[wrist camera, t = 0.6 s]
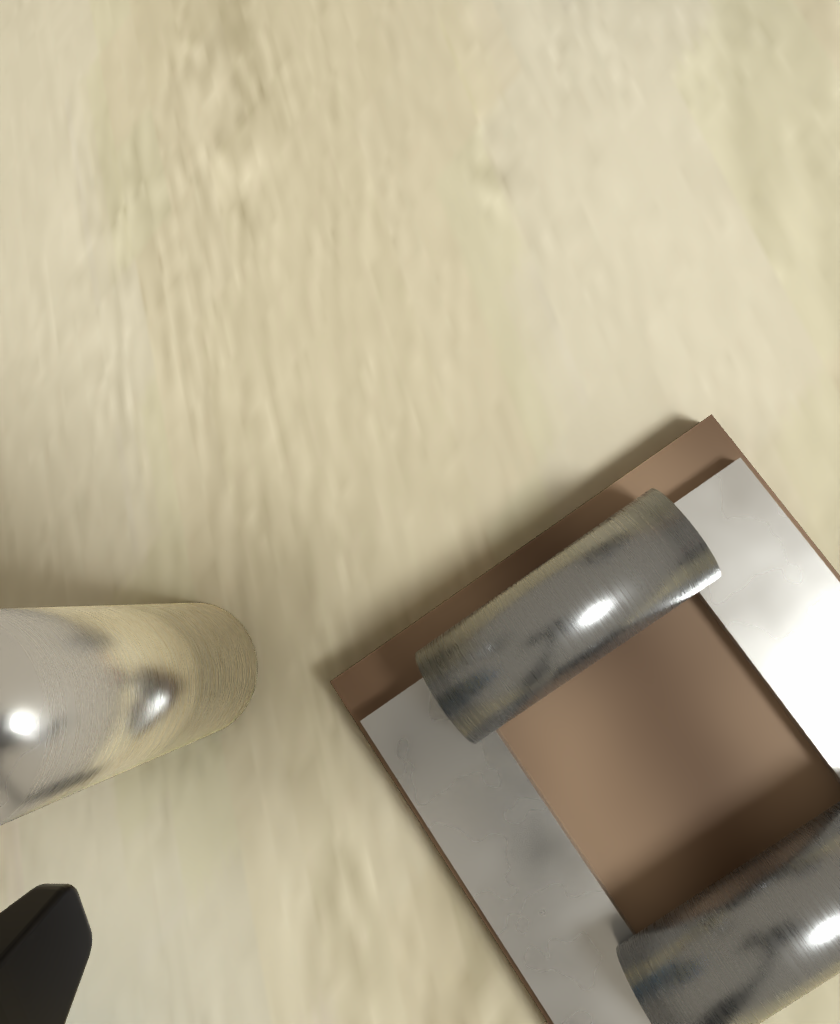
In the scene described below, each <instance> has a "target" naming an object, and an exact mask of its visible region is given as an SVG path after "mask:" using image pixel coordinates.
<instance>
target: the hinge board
mask: <svg viewBox="0 0 840 1024" xmlns="http://www.w3.org/2000/svg"><path fill="white" fill-rule="evenodd" d="M739 458H741V459H742V460H743V461H744V463H745V464H746V465H747V466H748V468H749V469H750V470H751V471H752V473H753V474H754V475H755V476H756V478H757V479H758V480H759V481H760V483H761V484H762V485H763V486H764V488H765V489H766V490H767V492H768V493H769V494H770V495H771V497H772V498H773V499H774V500H775V502H776V503H777V504H778V505H779V507H780V508H781V509H782V510H783V512H784V513H785V514H786V515H787V517H788V518H789V519H790V520H791V522H792V523H793V524H794V526H795V527H796V528H797V529H798V531H799V532H800V533H801V534H802V536H803V537H804V538H805V539H806V541H807V542H808V543H809V544H810V546H811V547H812V548H813V549H814V551H815V552H816V553H817V554H818V556H819V557H820V558H821V560H822V561H823V562H824V563H825V565H826V566H827V567H828V568H829V570H830V571H831V572H832V573H833V575H834V576H835V577H836V578H837V580H838V581H839V582H840V575H839V574H838V573H837V571H836V570H835V569H834V568H833V566H832V565H831V564H830V563H829V561H828V560H827V559H826V558H825V556H824V555H823V554H822V553H821V551H820V550H819V549H818V548H817V546H816V545H815V544H814V542H813V541H812V540H811V539H810V537H809V536H808V535H807V534H806V532H805V531H804V530H803V529H802V527H801V526H800V525H799V524H798V522H797V521H796V520H795V519H794V517H793V516H792V515H791V514H790V512H789V511H788V510H787V509H786V507H785V506H784V505H783V504H782V502H781V501H780V500H779V499H778V497H777V496H776V495H775V493H774V492H773V491H772V490H771V488H770V487H769V486H768V485H767V483H766V482H765V481H764V480H763V478H762V477H761V476H760V475H759V473H758V472H757V471H756V470H755V468H754V467H753V466H752V465H751V463H750V462H749V461H748V460H747V458H746V457H745V456H744V455H743V453H742V452H741V451H740V449H739V448H738V447H737V446H736V444H735V443H734V442H733V441H732V439H731V438H730V437H729V436H728V434H727V433H726V432H725V431H724V429H723V428H722V427H721V426H720V424H719V423H718V422H717V421H716V419H715V418H714V417H713V416H712V414H711V415H710V416H709V417H707V418H706V419H704V420H703V421H701V422H700V423H699V424H697V425H696V426H694V427H693V428H691V429H690V430H689V431H687V432H686V433H684V434H683V435H681V436H680V437H679V438H677V439H676V440H674V441H673V442H671V443H670V444H669V445H667V446H666V447H664V448H663V449H661V450H660V451H659V452H657V453H656V454H654V455H653V456H651V457H650V458H649V459H647V460H646V461H644V462H643V463H641V464H640V465H639V466H637V467H636V468H634V469H633V470H631V471H630V472H629V473H627V474H626V475H624V476H623V477H621V478H620V479H619V480H617V481H616V482H614V483H613V484H611V485H610V486H609V487H607V488H606V489H604V490H603V491H601V492H600V493H599V494H597V495H596V496H594V497H593V498H591V499H590V500H589V501H587V502H586V503H584V504H583V505H581V506H580V507H579V508H577V509H576V510H574V511H573V512H571V513H570V514H569V515H567V516H566V517H564V518H563V519H561V520H560V521H559V522H557V523H556V524H554V525H553V526H551V527H550V528H549V529H547V530H546V531H544V532H543V533H541V534H540V535H539V536H537V537H536V538H534V539H533V540H531V541H530V542H529V543H527V544H526V545H524V546H523V547H522V548H520V549H519V550H517V551H516V552H514V553H513V554H512V555H510V556H509V557H507V558H506V559H504V560H503V561H502V562H500V563H499V564H497V565H496V566H494V567H493V568H492V569H490V570H489V571H487V572H486V573H484V574H483V575H482V576H480V577H479V578H477V579H476V580H474V581H473V582H472V583H470V584H469V585H467V586H466V587H464V588H463V589H462V590H460V591H459V592H457V593H456V594H454V595H453V596H452V597H450V598H449V599H447V600H446V601H444V602H443V603H442V604H440V605H439V606H437V607H436V608H434V609H433V610H432V611H430V612H429V613H427V614H426V615H424V616H423V617H422V618H420V619H419V620H417V621H416V622H414V623H413V624H412V625H410V626H409V627H407V628H406V629H404V630H403V631H402V632H400V633H399V634H397V635H396V636H394V637H393V638H392V639H390V640H389V641H387V642H386V643H384V644H383V645H382V646H380V647H379V648H377V649H376V650H374V651H373V652H372V653H370V654H369V655H367V656H366V657H364V658H363V659H362V660H360V661H359V662H357V663H356V664H354V665H353V666H352V667H350V668H349V669H347V670H346V671H345V672H343V673H342V674H340V675H339V676H337V677H336V678H335V679H333V680H332V681H330V683H331V684H332V686H333V687H334V689H335V691H336V692H337V694H338V695H339V697H340V698H341V700H342V701H343V703H344V705H345V706H346V708H347V709H348V711H349V712H350V714H351V716H352V717H353V719H354V720H355V722H356V723H357V725H358V726H359V728H360V730H361V731H362V733H363V734H364V736H365V737H366V739H367V741H368V742H369V744H370V745H371V747H372V748H373V750H374V751H375V753H376V755H377V756H378V758H379V759H380V761H381V762H382V764H383V766H384V767H385V769H386V770H387V772H388V773H389V775H390V776H391V778H392V780H393V781H394V783H395V784H396V786H397V787H398V789H399V791H400V792H401V794H402V795H403V797H404V798H405V800H406V801H407V803H408V805H409V806H410V808H411V809H412V811H413V812H414V814H415V816H416V817H417V819H418V820H419V822H420V823H421V825H422V826H423V828H424V830H425V831H426V833H427V834H428V836H429V837H430V839H431V841H432V842H433V844H434V845H435V847H436V848H437V850H438V851H439V853H440V855H441V856H442V858H443V859H444V861H445V862H446V864H447V866H448V867H449V869H450V870H451V872H452V873H453V875H454V877H455V878H456V880H457V881H458V883H459V884H460V886H461V887H462V889H463V891H464V892H465V894H466V895H467V897H468V898H469V900H470V902H471V903H472V905H473V906H474V908H475V909H476V911H477V912H478V914H479V916H480V917H481V919H482V920H483V922H484V923H485V925H486V927H487V928H488V930H489V931H490V933H491V934H492V936H493V937H494V939H495V941H496V942H497V944H498V945H499V947H500V948H501V950H502V952H503V953H504V955H505V956H506V958H507V959H508V961H509V962H510V964H511V966H512V967H513V969H514V970H515V972H516V973H517V975H518V977H519V978H520V980H521V981H522V983H523V984H524V986H525V987H526V989H527V991H528V992H529V994H530V995H531V997H532V998H533V1000H534V1002H535V1003H536V1005H537V1006H538V1008H539V1009H540V1011H541V1012H542V1014H543V1016H544V1017H545V1019H546V1020H547V1022H548V1023H549V1024H554V1023H553V1021H552V1020H551V1018H550V1017H549V1015H548V1014H547V1012H546V1011H545V1009H544V1007H543V1006H542V1004H541V1003H540V1001H539V1000H538V998H537V996H536V995H535V993H534V992H533V990H532V989H531V987H530V986H529V984H528V982H527V981H526V979H525V978H524V976H523V975H522V973H521V972H520V970H519V968H518V967H517V965H516V964H515V962H514V961H513V959H512V958H511V956H510V954H509V953H508V951H507V950H506V948H505V947H504V945H503V943H502V942H501V940H500V939H499V937H498V936H497V934H496V933H495V931H494V929H493V928H492V926H491V925H490V923H489V922H488V920H487V919H486V917H485V915H484V914H483V912H482V911H481V909H480V908H479V906H478V904H477V903H476V901H475V900H474V898H473V897H472V895H471V894H470V892H469V890H468V889H467V887H466V886H465V884H464V883H463V881H462V880H461V878H460V876H459V875H458V873H457V872H456V870H455V869H454V867H453V865H452V864H451V862H450V861H449V859H448V858H447V856H446V855H445V853H444V851H443V850H442V848H441V847H440V845H439V844H438V842H437V841H436V839H435V837H434V836H433V834H432V833H431V831H430V830H429V828H428V826H427V825H426V823H425V822H424V820H423V819H422V817H421V816H420V814H419V812H418V811H417V809H416V808H415V806H414V805H413V803H412V802H411V800H410V798H409V797H408V795H407V794H406V792H405V791H404V789H403V787H402V786H401V784H400V783H399V781H398V780H397V778H396V777H395V775H394V773H393V772H392V770H391V769H390V767H389V766H388V764H387V763H386V761H385V759H384V758H383V756H382V755H381V753H380V752H379V750H378V749H377V747H376V745H375V744H374V742H373V741H372V739H371V738H370V736H369V734H368V733H367V731H366V730H365V728H364V727H363V725H362V724H361V722H360V721H361V720H362V719H364V718H365V717H367V716H368V715H370V714H371V713H372V712H374V711H375V710H377V709H378V708H380V707H381V706H383V705H384V704H385V703H387V702H388V701H390V700H391V699H393V698H394V697H396V696H397V695H398V694H400V693H401V692H403V691H404V690H406V689H407V688H408V687H410V686H411V685H413V684H414V683H416V682H417V681H419V680H420V679H421V678H423V677H422V675H421V672H420V670H419V668H418V665H417V663H416V659H415V653H416V652H417V651H418V650H420V649H421V648H423V647H424V646H425V645H427V644H428V643H430V642H431V641H433V640H434V639H436V638H437V637H438V636H440V635H441V634H443V633H444V632H446V631H447V630H448V629H450V628H451V627H453V626H454V625H456V624H457V623H458V622H460V621H461V620H463V619H464V618H466V617H467V616H468V615H470V614H471V613H473V612H474V611H476V610H477V609H479V608H480V607H481V606H483V605H484V604H486V603H487V602H489V601H490V600H491V599H493V598H494V597H496V596H497V595H499V594H500V593H501V592H503V591H504V590H506V589H507V588H509V587H510V586H512V585H513V584H514V583H516V582H517V581H519V580H520V579H522V578H523V577H524V576H526V575H527V574H529V573H530V572H532V571H533V570H534V569H536V568H537V567H539V566H540V565H542V564H543V563H545V562H546V561H547V560H549V559H550V558H552V557H553V556H555V555H556V554H557V553H559V552H560V551H562V550H563V549H565V548H566V547H567V546H569V545H570V544H572V543H573V542H575V541H576V540H577V539H579V538H580V537H582V536H583V535H585V534H586V533H588V532H589V531H590V530H592V529H593V528H595V527H596V526H598V525H599V524H600V523H602V522H603V521H605V520H606V519H608V518H609V517H610V516H612V515H613V514H615V513H616V512H618V511H619V510H621V509H622V508H623V507H625V506H626V505H628V504H629V503H631V502H632V501H633V500H635V499H636V498H638V497H639V496H641V495H642V494H643V493H645V492H646V491H648V490H649V489H651V488H655V489H657V490H659V491H660V492H661V493H663V494H664V495H665V496H666V497H667V498H669V499H670V500H671V501H672V502H673V503H675V502H677V501H678V500H679V499H681V498H682V497H684V496H685V495H687V494H688V493H689V492H691V491H692V490H694V489H695V488H697V487H698V486H700V485H701V484H702V483H704V482H705V481H707V480H708V479H710V478H711V477H713V476H714V475H715V474H717V473H718V472H720V471H721V470H723V469H724V468H726V467H727V466H728V465H730V464H731V463H733V462H734V461H736V460H737V459H739ZM498 730H499V731H500V733H501V734H502V735H503V737H504V738H505V740H506V741H507V743H508V744H509V746H510V747H511V749H512V750H513V752H514V753H515V755H516V756H517V758H518V759H519V761H520V762H521V764H522V765H523V767H524V768H525V770H526V771H527V772H528V774H529V775H530V777H531V778H532V780H533V781H534V783H535V784H536V786H537V787H538V789H539V790H540V792H541V793H542V795H543V796H544V798H545V799H546V801H547V802H548V804H549V805H550V807H551V808H552V809H553V811H554V812H555V814H556V815H557V817H558V818H559V820H560V821H561V823H562V824H563V826H564V827H565V829H566V830H567V832H568V833H569V835H570V836H571V838H572V839H573V841H574V842H575V844H576V845H577V846H578V848H579V849H580V851H581V852H582V854H583V855H584V857H585V858H586V860H587V861H588V863H589V864H590V866H591V867H592V869H593V870H594V872H595V873H596V875H597V876H598V878H599V879H600V881H601V882H602V883H603V885H604V886H605V888H606V889H607V891H608V892H609V894H610V895H611V897H612V898H613V900H614V901H615V903H616V904H617V906H618V907H619V909H620V910H621V912H622V913H623V915H624V916H625V918H626V919H627V920H628V922H629V923H630V925H631V926H632V928H633V929H634V931H635V932H636V934H637V933H638V932H640V931H641V930H643V929H644V928H646V927H648V926H649V925H651V924H652V923H654V922H655V921H657V920H658V919H660V918H661V917H663V916H664V915H666V914H667V913H669V912H671V911H672V910H674V909H675V908H677V907H678V906H680V905H681V904H683V903H684V902H686V901H687V900H689V899H691V898H692V897H694V896H695V895H697V894H698V893H700V892H701V891H703V890H704V889H706V888H707V887H709V886H710V885H712V884H714V883H715V882H717V881H718V880H720V879H721V878H723V877H724V876H726V875H727V874H729V873H730V872H732V871H734V870H735V869H737V868H738V867H740V866H741V865H743V864H744V863H746V862H747V861H749V860H750V859H752V858H753V857H755V856H757V855H758V854H760V853H761V852H763V851H764V850H766V849H767V848H769V847H770V846H772V845H773V844H775V843H777V842H778V841H780V840H781V839H783V838H784V837H786V836H787V835H789V834H790V833H792V832H793V831H795V830H796V829H798V828H800V827H801V826H803V825H804V824H806V823H807V822H809V821H810V820H812V819H813V818H815V817H816V816H818V815H819V814H821V813H823V812H824V811H826V810H827V809H829V808H830V807H832V806H833V805H835V804H836V803H838V802H839V801H840V784H839V782H838V781H837V780H836V778H835V777H834V776H833V774H832V773H831V772H830V770H829V769H828V768H827V766H826V765H825V764H824V762H823V761H822V760H821V758H820V757H819V756H818V754H817V753H816V752H815V750H814V749H813V748H812V747H811V745H810V744H809V743H808V741H807V740H806V739H805V737H804V736H803V735H802V733H801V732H800V731H799V729H798V728H797V727H796V725H795V724H794V723H793V721H792V720H791V719H790V717H789V716H788V715H787V713H786V712H785V711H784V709H783V708H782V707H781V705H780V704H779V703H778V701H777V700H776V699H775V697H774V696H773V695H772V693H771V692H770V691H769V689H768V688H767V687H766V685H765V684H764V683H763V681H762V680H761V679H760V677H759V676H758V675H757V674H756V672H755V671H754V670H753V668H752V667H751V666H750V664H749V663H748V662H747V660H746V659H745V658H744V656H743V655H742V654H741V652H740V651H739V650H738V648H737V647H736V646H735V644H734V643H733V642H732V640H731V639H730V638H729V636H728V635H727V634H726V632H725V631H724V630H723V628H722V627H721V626H720V624H719V623H718V622H717V620H716V619H715V618H714V616H713V615H712V614H711V612H710V611H709V610H708V608H707V607H706V606H705V604H704V603H703V602H702V601H701V599H700V598H699V597H698V595H697V594H695V595H693V596H692V597H690V598H689V599H687V600H686V601H684V602H683V603H682V604H680V605H679V606H677V607H676V608H674V609H673V610H671V611H670V612H668V613H667V614H665V615H664V616H663V617H661V618H660V619H658V620H657V621H655V622H654V623H652V624H651V625H649V626H648V627H646V628H645V629H643V630H642V631H641V632H639V633H638V634H636V635H635V636H633V637H632V638H630V639H629V640H627V641H626V642H624V643H623V644H622V645H620V646H619V647H617V648H616V649H614V650H613V651H611V652H610V653H608V654H607V655H605V656H604V657H602V658H601V659H600V660H598V661H597V662H595V663H594V664H592V665H591V666H589V667H588V668H586V669H585V670H583V671H582V672H581V673H579V674H578V675H576V676H575V677H573V678H572V679H570V680H569V681H567V682H566V683H564V684H563V685H561V686H560V687H559V688H557V689H556V690H554V691H553V692H551V693H550V694H548V695H547V696H545V697H544V698H542V699H541V700H540V701H538V702H537V703H535V704H534V705H532V706H531V707H529V708H528V709H526V710H525V711H523V712H522V713H520V714H519V715H518V716H516V717H515V718H513V719H512V720H510V721H509V722H507V723H506V724H504V725H503V726H501V727H500V728H499V729H498Z"/></svg>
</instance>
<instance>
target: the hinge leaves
mask: <svg viewBox="0 0 840 1024" xmlns="http://www.w3.org/2000/svg"><path fill="white" fill-rule="evenodd" d="M695 594H697V595H698V597H699V598H700V599H701V601H702V602H703V603H704V604H705V606H706V607H707V608H708V610H709V611H710V612H711V614H712V615H713V616H714V618H715V619H716V620H717V622H718V623H719V624H720V626H721V627H722V628H723V630H724V631H725V632H726V634H727V635H728V636H729V638H730V639H731V640H732V642H733V643H734V644H735V646H736V647H737V648H738V650H739V651H740V652H741V654H742V655H743V656H744V658H745V659H746V660H747V662H748V663H749V664H750V666H751V667H752V668H753V670H754V671H755V672H756V674H757V675H758V676H759V677H760V679H761V680H762V681H763V683H764V684H765V685H766V687H767V688H768V689H769V691H770V692H771V693H772V695H773V696H774V697H775V699H776V700H777V701H778V703H779V704H780V705H781V707H782V708H783V709H784V711H785V712H786V713H787V715H788V716H789V717H790V719H791V720H792V721H793V723H794V724H795V725H796V727H797V728H798V729H799V731H800V732H801V733H802V735H803V736H804V737H805V739H806V740H807V741H808V743H809V744H810V745H811V747H812V748H813V749H814V750H815V752H816V753H817V754H818V756H819V757H820V758H821V760H822V761H823V762H824V764H825V765H826V766H827V768H828V769H829V770H830V772H831V773H832V774H833V776H834V777H835V778H836V780H837V781H838V782H839V784H840V582H839V581H838V580H837V578H836V577H835V576H834V575H833V573H832V572H831V571H830V570H829V568H828V567H827V566H826V565H825V563H824V562H823V561H822V560H821V558H820V557H819V556H818V554H817V553H816V552H815V551H814V549H813V548H812V547H811V546H810V544H809V543H808V542H807V541H806V539H805V538H804V537H803V536H802V534H801V533H800V532H799V531H798V529H797V528H796V527H795V526H794V524H793V523H792V522H791V520H790V519H789V518H788V517H787V515H786V514H785V513H784V512H783V510H782V509H781V508H780V507H779V505H778V504H777V503H776V502H775V500H774V499H773V498H772V497H771V495H770V494H769V493H768V492H767V490H766V489H765V488H764V486H763V485H762V484H761V483H760V481H759V480H758V479H757V478H756V476H755V475H754V474H753V473H752V471H751V470H750V469H749V468H748V466H747V465H746V464H745V463H744V461H743V460H742V459H741V458H739V459H737V460H736V461H734V462H733V463H731V464H730V465H728V466H727V467H726V468H724V469H723V470H721V471H720V472H718V473H717V474H715V475H714V476H713V477H711V478H710V479H708V480H707V481H705V482H704V483H702V484H701V485H700V486H698V487H697V488H695V489H694V490H692V491H691V492H689V493H688V494H687V495H685V496H684V497H682V498H681V499H679V500H678V501H677V502H675V503H673V502H672V501H671V500H670V499H669V498H667V497H666V496H665V495H664V494H663V493H661V492H660V491H659V490H657V489H655V488H651V489H649V490H648V491H646V492H645V493H643V494H642V495H641V496H639V497H638V498H636V499H635V500H633V501H632V502H631V503H629V504H628V505H626V506H625V507H623V508H622V509H621V510H619V511H618V512H616V513H615V514H613V515H612V516H610V517H609V518H608V519H606V520H605V521H603V522H602V523H600V524H599V525H598V526H596V527H595V528H593V529H592V530H590V531H589V532H588V533H586V534H585V535H583V536H582V537H580V538H579V539H577V540H576V541H575V542H573V543H572V544H570V545H569V546H567V547H566V548H565V549H563V550H562V551H560V552H559V553H557V554H556V555H555V556H553V557H552V558H550V559H549V560H547V561H546V562H545V563H543V564H542V565H540V566H539V567H537V568H536V569H534V570H533V571H532V572H530V573H529V574H527V575H526V576H524V577H523V578H522V579H520V580H519V581H517V582H516V583H514V584H513V585H512V586H510V587H509V588H507V589H506V590H504V591H503V592H501V593H500V594H499V595H497V596H496V597H494V598H493V599H491V600H490V601H489V602H487V603H486V604H484V605H483V606H481V607H480V608H479V609H477V610H476V611H474V612H473V613H471V614H470V615H468V616H467V617H466V618H464V619H463V620H461V621H460V622H458V623H457V624H456V625H454V626H453V627H451V628H450V629H448V630H447V631H446V632H444V633H443V634H441V635H440V636H438V637H437V638H436V639H434V640H433V641H431V642H430V643H428V644H427V645H425V646H424V647H423V648H421V649H420V650H418V651H417V652H416V653H415V659H416V663H417V665H418V668H419V670H420V672H421V675H422V677H423V678H421V679H420V680H419V681H417V682H416V683H414V684H413V685H411V686H410V687H408V688H407V689H406V690H404V691H403V692H401V693H400V694H398V695H397V696H396V697H394V698H393V699H391V700H390V701H388V702H387V703H385V704H384V705H383V706H381V707H380V708H378V709H377V710H375V711H374V712H372V713H371V714H370V715H368V716H367V717H365V718H364V719H362V720H361V721H360V722H361V724H362V725H363V727H364V728H365V730H366V731H367V733H368V734H369V736H370V738H371V739H372V741H373V742H374V744H375V745H376V747H377V749H378V750H379V752H380V753H381V755H382V756H383V758H384V759H385V761H386V763H387V764H388V766H389V767H390V769H391V770H392V772H393V773H394V775H395V777H396V778H397V780H398V781H399V783H400V784H401V786H402V787H403V789H404V791H405V792H406V794H407V795H408V797H409V798H410V800H411V802H412V803H413V805H414V806H415V808H416V809H417V811H418V812H419V814H420V816H421V817H422V819H423V820H424V822H425V823H426V825H427V826H428V828H429V830H430V831H431V833H432V834H433V836H434V837H435V839H436V841H437V842H438V844H439V845H440V847H441V848H442V850H443V851H444V853H445V855H446V856H447V858H448V859H449V861H450V862H451V864H452V865H453V867H454V869H455V870H456V872H457V873H458V875H459V876H460V878H461V880H462V881H463V883H464V884H465V886H466V887H467V889H468V890H469V892H470V894H471V895H472V897H473V898H474V900H475V901H476V903H477V904H478V906H479V908H480V909H481V911H482V912H483V914H484V915H485V917H486V919H487V920H488V922H489V923H490V925H491V926H492V928H493V929H494V931H495V933H496V934H497V936H498V937H499V939H500V940H501V942H502V943H503V945H504V947H505V948H506V950H507V951H508V953H509V954H510V956H511V958H512V959H513V961H514V962H515V964H516V965H517V967H518V968H519V970H520V972H521V973H522V975H523V976H524V978H525V979H526V981H527V982H528V984H529V986H530V987H531V989H532V990H533V992H534V993H535V995H536V996H537V998H538V1000H539V1001H540V1003H541V1004H542V1006H543V1007H544V1009H545V1011H546V1012H547V1014H548V1015H549V1017H550V1018H551V1020H552V1021H553V1023H554V1024H760V1023H761V1022H763V1021H764V1020H766V1019H768V1018H769V1017H771V1016H772V1015H774V1014H775V1013H777V1012H779V1011H780V1010H782V1009H783V1008H785V1007H786V1006H788V1005H790V1004H791V1003H793V1002H794V1001H796V1000H798V999H799V998H801V997H802V996H804V995H805V994H807V993H809V992H810V991H812V990H813V989H815V988H816V987H818V986H820V985H821V984H823V983H824V982H826V981H828V980H829V979H831V978H832V977H834V976H835V975H837V974H839V973H840V801H839V802H838V803H836V804H835V805H833V806H832V807H830V808H829V809H827V810H826V811H824V812H823V813H821V814H819V815H818V816H816V817H815V818H813V819H812V820H810V821H809V822H807V823H806V824H804V825H803V826H801V827H800V828H798V829H796V830H795V831H793V832H792V833H790V834H789V835H787V836H786V837H784V838H783V839H781V840H780V841H778V842H777V843H775V844H773V845H772V846H770V847H769V848H767V849H766V850H764V851H763V852H761V853H760V854H758V855H757V856H755V857H753V858H752V859H750V860H749V861H747V862H746V863H744V864H743V865H741V866H740V867H738V868H737V869H735V870H734V871H732V872H730V873H729V874H727V875H726V876H724V877H723V878H721V879H720V880H718V881H717V882H715V883H714V884H712V885H710V886H709V887H707V888H706V889H704V890H703V891H701V892H700V893H698V894H697V895H695V896H694V897H692V898H691V899H689V900H687V901H686V902H684V903H683V904H681V905H680V906H678V907H677V908H675V909H674V910H672V911H671V912H669V913H667V914H666V915H664V916H663V917H661V918H660V919H658V920H657V921H655V922H654V923H652V924H651V925H649V926H648V927H646V928H644V929H643V930H641V931H640V932H638V933H637V934H636V932H635V931H634V929H633V928H632V926H631V925H630V923H629V922H628V920H627V919H626V918H625V916H624V915H623V913H622V912H621V910H620V909H619V907H618V906H617V904H616V903H615V901H614V900H613V898H612V897H611V895H610V894H609V892H608V891H607V889H606V888H605V886H604V885H603V883H602V882H601V881H600V879H599V878H598V876H597V875H596V873H595V872H594V870H593V869H592V867H591V866H590V864H589V863H588V861H587V860H586V858H585V857H584V855H583V854H582V852H581V851H580V849H579V848H578V846H577V845H576V844H575V842H574V841H573V839H572V838H571V836H570V835H569V833H568V832H567V830H566V829H565V827H564V826H563V824H562V823H561V821H560V820H559V818H558V817H557V815H556V814H555V812H554V811H553V809H552V808H551V807H550V805H549V804H548V802H547V801H546V799H545V798H544V796H543V795H542V793H541V792H540V790H539V789H538V787H537V786H536V784H535V783H534V781H533V780H532V778H531V777H530V775H529V774H528V772H527V771H526V770H525V768H524V767H523V765H522V764H521V762H520V761H519V759H518V758H517V756H516V755H515V753H514V752H513V750H512V749H511V747H510V746H509V744H508V743H507V741H506V740H505V738H504V737H503V735H502V734H501V733H500V731H499V730H498V729H499V728H500V727H501V726H503V725H504V724H506V723H507V722H509V721H510V720H512V719H513V718H515V717H516V716H518V715H519V714H520V713H522V712H523V711H525V710H526V709H528V708H529V707H531V706H532V705H534V704H535V703H537V702H538V701H540V700H541V699H542V698H544V697H545V696H547V695H548V694H550V693H551V692H553V691H554V690H556V689H557V688H559V687H560V686H561V685H563V684H564V683H566V682H567V681H569V680H570V679H572V678H573V677H575V676H576V675H578V674H579V673H581V672H582V671H583V670H585V669H586V668H588V667H589V666H591V665H592V664H594V663H595V662H597V661H598V660H600V659H601V658H602V657H604V656H605V655H607V654H608V653H610V652H611V651H613V650H614V649H616V648H617V647H619V646H620V645H622V644H623V643H624V642H626V641H627V640H629V639H630V638H632V637H633V636H635V635H636V634H638V633H639V632H641V631H642V630H643V629H645V628H646V627H648V626H649V625H651V624H652V623H654V622H655V621H657V620H658V619H660V618H661V617H663V616H664V615H665V614H667V613H668V612H670V611H671V610H673V609H674V608H676V607H677V606H679V605H680V604H682V603H683V602H684V601H686V600H687V599H689V598H690V597H692V596H693V595H695Z"/></svg>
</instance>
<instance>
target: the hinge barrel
mask: <svg viewBox="0 0 840 1024" xmlns="http://www.w3.org/2000/svg"><path fill="white" fill-rule="evenodd" d="M256 679H257V657H256V652H255V648H254V645H253V643H252V640H251V638H250V636H249V634H248V632H247V631H246V629H245V628H244V627H243V625H242V624H241V623H240V622H239V621H238V620H237V619H236V618H235V617H234V616H233V615H231V614H230V613H229V612H227V611H225V610H224V609H222V608H219V607H217V606H214V605H211V604H207V603H165V604H133V605H101V606H68V607H36V608H4V609H0V825H2V824H5V823H7V822H9V821H12V820H14V819H16V818H18V817H21V816H23V815H25V814H28V813H30V812H32V811H35V810H37V809H39V808H42V807H44V806H46V805H49V804H51V803H53V802H56V801H58V800H60V799H62V798H65V797H67V796H69V795H72V794H74V793H76V792H79V791H81V790H83V789H86V788H88V787H90V786H93V785H95V784H97V783H100V782H102V781H104V780H107V779H109V778H111V777H113V776H116V775H118V774H120V773H123V772H125V771H127V770H130V769H132V768H134V767H137V766H139V765H141V764H144V763H146V762H148V761H151V760H153V759H155V758H157V757H160V756H162V755H164V754H167V753H169V752H171V751H174V750H176V749H178V748H181V747H183V746H185V745H188V744H190V743H192V742H195V741H197V740H199V739H202V738H204V737H206V736H208V735H211V734H213V733H215V732H218V731H220V730H222V729H224V728H225V727H227V726H229V725H230V724H231V723H232V722H234V721H235V720H236V719H237V718H238V717H239V716H240V715H241V713H242V712H243V711H244V709H245V708H246V707H247V705H248V703H249V701H250V699H251V697H252V694H253V692H254V688H255V685H256Z"/></svg>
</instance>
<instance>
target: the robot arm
mask: <svg viewBox="0 0 840 1024" xmlns="http://www.w3.org/2000/svg"><path fill="white" fill-rule="evenodd" d="M91 946H92V932H91V928H90V925H89V923H88V920H87V917H86V914H85V911H84V908H83V905H82V903H81V900H80V897H79V894H78V892H77V890H76V889H75V888H74V887H73V886H72V885H69V884H42V885H39V886H37V887H35V888H33V889H32V890H30V891H29V892H28V893H26V894H25V895H24V896H22V897H21V898H20V899H18V900H17V901H16V902H14V903H13V904H12V905H10V906H9V907H8V908H6V909H5V910H4V911H2V912H1V913H0V1024H65V1022H66V1019H67V1016H68V1014H69V1011H70V1008H71V1005H72V1002H73V1000H74V997H75V994H76V991H77V989H78V986H79V983H80V980H81V978H82V975H83V972H84V969H85V966H86V964H87V961H88V958H89V955H90V951H91Z"/></svg>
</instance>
